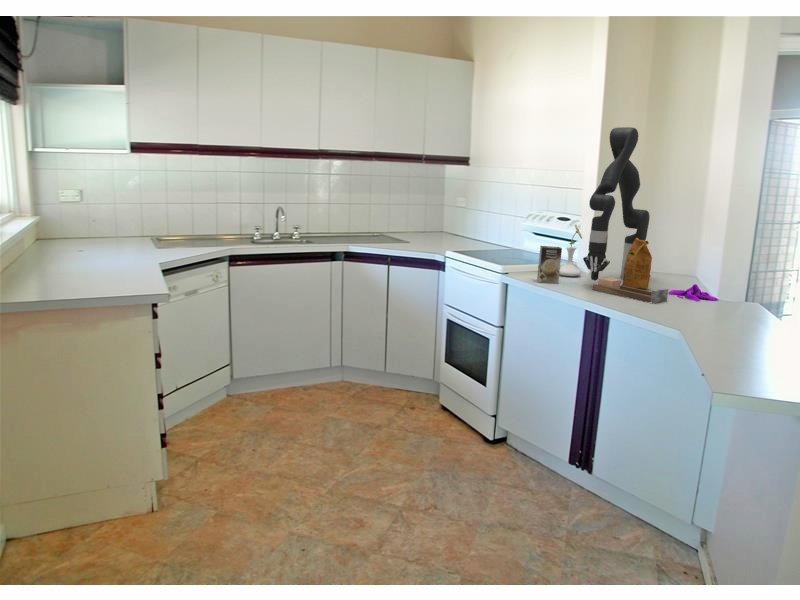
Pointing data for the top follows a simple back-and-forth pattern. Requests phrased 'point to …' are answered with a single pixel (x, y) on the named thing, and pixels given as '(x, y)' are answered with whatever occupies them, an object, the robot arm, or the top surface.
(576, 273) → the flower in vase
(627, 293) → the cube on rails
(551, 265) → the coffee box
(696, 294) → the cloth
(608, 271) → the top surface
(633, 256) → the coffee package
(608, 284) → the block
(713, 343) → the top surface
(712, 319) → the top surface
